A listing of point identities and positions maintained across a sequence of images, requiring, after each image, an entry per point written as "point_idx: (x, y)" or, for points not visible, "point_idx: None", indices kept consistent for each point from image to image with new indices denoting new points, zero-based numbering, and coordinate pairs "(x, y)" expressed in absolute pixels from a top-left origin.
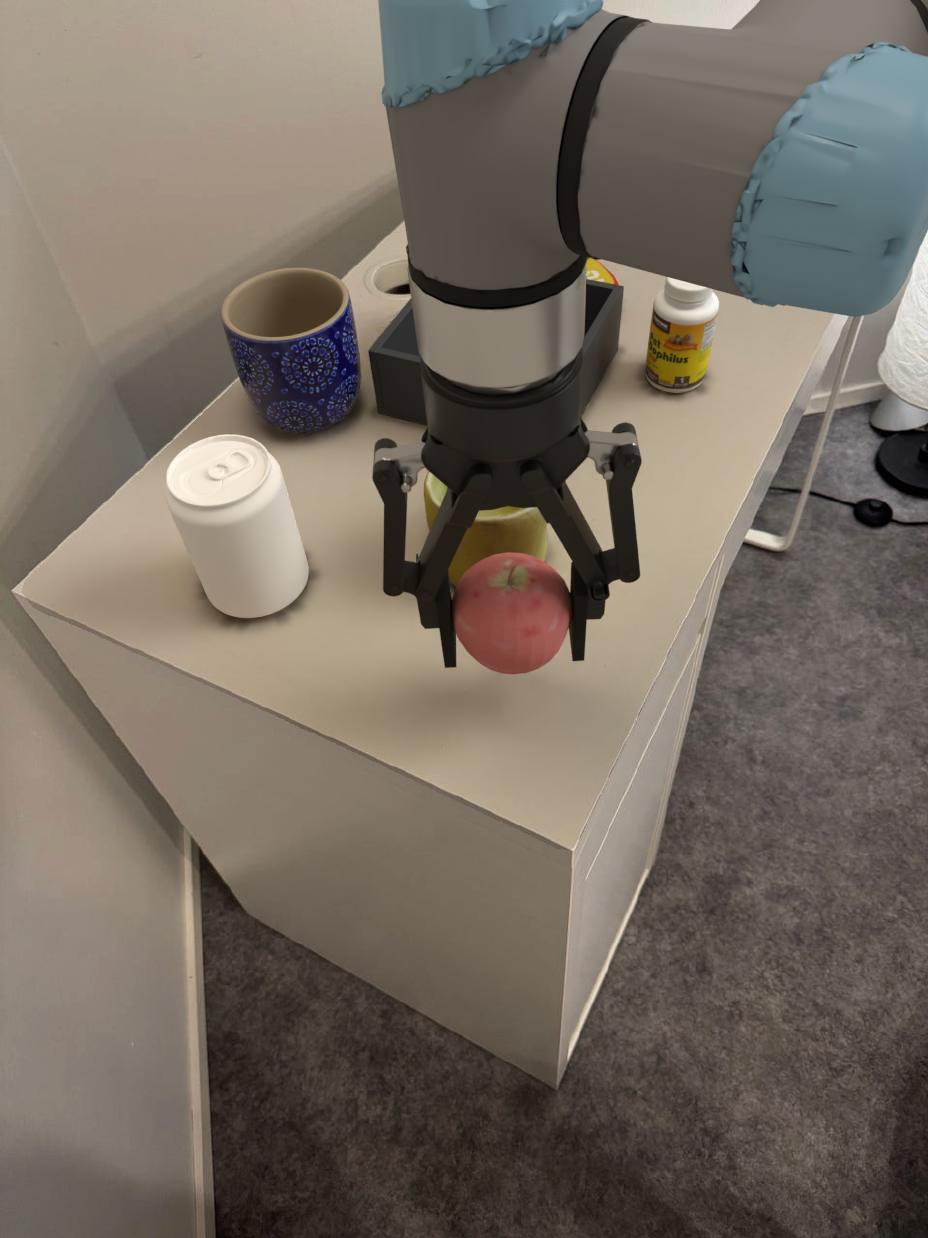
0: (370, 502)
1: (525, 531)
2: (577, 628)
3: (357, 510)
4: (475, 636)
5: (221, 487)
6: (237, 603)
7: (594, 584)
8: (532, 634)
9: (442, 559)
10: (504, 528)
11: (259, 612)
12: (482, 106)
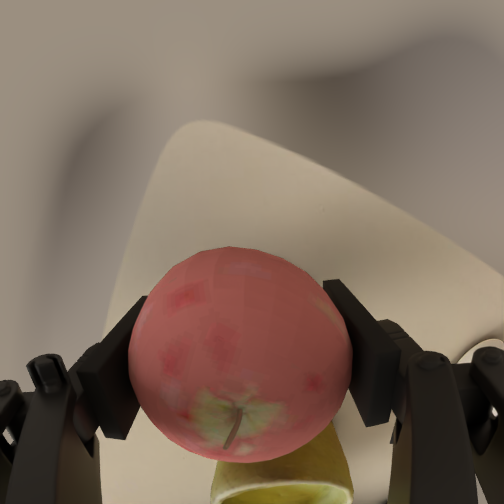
0: (380, 459)
1: (235, 466)
2: (126, 327)
3: (392, 451)
4: (309, 290)
5: None
6: (502, 347)
7: (54, 388)
8: (181, 292)
9: (441, 458)
10: (261, 472)
11: (483, 345)
12: None
